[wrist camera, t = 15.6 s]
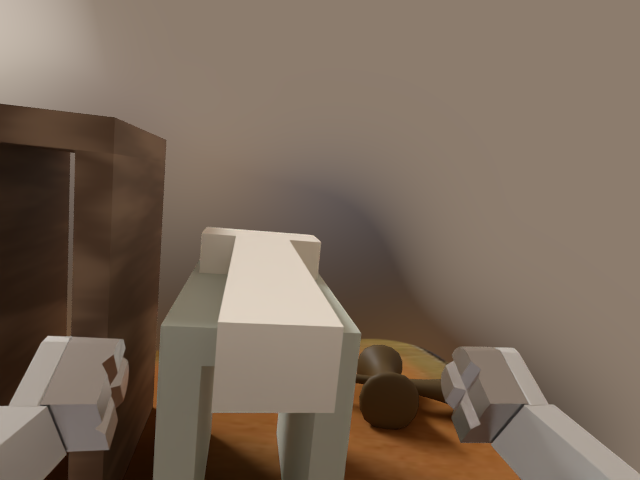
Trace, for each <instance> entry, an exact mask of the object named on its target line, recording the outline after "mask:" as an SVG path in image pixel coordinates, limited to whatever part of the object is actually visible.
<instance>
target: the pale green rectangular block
mask: <svg viewBox="0 0 640 480" xmlns="http://www.w3.org/2000/svg"><path fill="white" fill-rule="evenodd" d="M199 270H200V260H199V262H198V263H197V265H196V267H195V268H194V270H193V272H192V274H191V275H190V277H189V279H188V281H187V282H186V284H185V285H184V287H183V289H182V291H181V293H180V294H179V296H178V297H177V299H176V301H175V303H174V304H173V306H172V308H171V309H170V311H169V313H168V315H167V316H166V318H165V320H164V321H163V323H162V325H161V334H160V353H159V372H158V391H157V410H156V430H155V449H154V468H153V480H204V478H205V471H206V464H207V457H208V450H209V443H210V437H211V426H212V413H211V412H212V398H213V383H214V369H215V355H216V341H217V327H218V319H219V314H220V310H221V305H222V300H223V295H224V291H225V286H226V281H227V277H228V274H211V273H199ZM315 282H316V283H317V285H318V287H319V288H320V290H321V291H322V293H323V295H324V296H325V298H326V299H327V301H328V302H329V304H330V306H331V307H332V309H333V310H334V312H335V314H336V315H337V317H338V318H339V320H340V322H341V323H342V325H343V326H344V331H343V340H342V349H341V358H340V367H339V376H338V384H337V393H336V402H335V411H334V413H278V423H277V441H278V450H279V459H280V469H281V478H282V480H344V474H345V465H346V457H347V449H348V440H349V432H350V423H351V415H352V407H353V398H354V390H355V381H356V373H357V365H358V356H359V348H360V339H361V332H360V331H359V330H358V328H357V327H356V325H355V324H354V322H353V321H352V320H351V318H350V317H349V316H348V314H347V313H346V311H345V310H344V309H343V307H342V306H341V304H340V303H339V302H338V300H337V299H336V297H335V296H334V295H333V293H332V292H331V291H330V289H329V288H328V286H327V285H326V283H325V282H324V281H323V279H322V278H321V276H320V275H319V274H318V277H317V280H315Z"/></svg>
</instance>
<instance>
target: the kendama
mask: <svg viewBox="0 0 640 480" xmlns="http://www.w3.org/2000/svg"><path fill="white" fill-rule="evenodd" d="M401 373H402V360H401V357H400V355H399V353H398V352H396V351H395V350H394V349H393V348H391V347H388V346H385V345H372V346H370V347H367V348H365V349H364V351H363V352H362V353H361V354H360V356H359V359H358V365H357V374H356V381H355V383H359V384H364V385H363V387H362V390H361V393H360V396H359V398H360V410H361V412H362V415H363V417H364V419H365V420H366V421H367V422H369V423H370V424H371V425H373V426H374V427H379V428H385V429H399V428H402V427H405V426H407V425H408V424H409V423H410V422H411V421H412V420H413V419H414V417H415V415H416V412H417V410H418V407H419V395H420V396H423V397H427V398H430V399H434V400H437V401H440V402H443V403H446V404H448V403H447V402H446V401H445V399H444V396H443V393H442V387H441V379H432V380H422V379H408V378H407V377H406V376H404V375H401Z"/></svg>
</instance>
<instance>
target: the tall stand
mask: <svg viewBox="0 0 640 480" xmlns="http://www.w3.org/2000/svg"><path fill="white" fill-rule="evenodd" d="M70 152H72V153H75V187H74V191H75V192H74V234H73V278H72V324H71V337H89V338H111V339H123V340H124V344H125V351H124V355H123V357H124V358H125V359H126V360H128V366H129V378H128V384H127V390H126V394H125V397H124V401H123V402H122V403H121V404H120V405H119V406H118V407H117V408H116V413H117V418H118V422H117V425H116V429H115V432H114V436H113V439H112V442H111V446H110V449H109V450H95V451H74V452H69V460H68V480H123V477H124V475H125V472H126V470H127V468H128V465H129V463H130V460H131V458H132V456H133V453H134V451H135V448H136V446H137V444H138V441H139V439H140V436H141V434H142V431H143V429H144V427H145V424H146V422H147V419H148V417H149V415H150V412H151V410H152V407H153V393H154V373H155V354H156V334H157V314H158V313H157V312H158V294H159V293H158V292H159V274H160V254H161V235H162V214H163V195H164V175H165V155H166V140H165V139H163V138H160V137H158V136H156V135H154V134H151V133H149V132H147V131H144V130H142V129H140V128H137V127H135V126H133V125H131V124H128V123H126V122H124V121H121V120H119V119H117V118H114V117H106V116H98V115H89V114H81V113H73V112H64V111H56V110H48V109H39V108H31V107H23V106H14V105H6V104H0V406H9V404H10V402H11V400H12V398H13V396H14V394H15V392H16V390H17V388H18V386H19V385H20V383H21V381H22V379H23V377H24V375H25V373H26V371H27V369H28V367H29V365H30V363H31V361H32V359H33V358H34V356H35V354H36V352H37V350H38V348H39V346H40V344H41V342H42V341H43V340H44V339H45V338H46V337H47V336H66V330H67V282H68V233H69V184H70V183H69V182H70Z"/></svg>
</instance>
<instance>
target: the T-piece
mask: <svg viewBox="0 0 640 480" xmlns="http://www.w3.org/2000/svg"><path fill="white" fill-rule="evenodd" d="M320 248H321V242H320V241H319V240H318V239H317V238H316V237H315V236H313V235H303V234H291V233H278V232H266V231H252V230H240V229H227V228H214V227H207V228H206V229H205V230H204V231H203V232H202V238H201V255H200V270H199V273H211V274H228V277H227V281H226V286H225V291H224V295H223V300H222V305H221V310H220V314H219V319H218V327H217V341H216V355H215V369H214V383H213V398H212V412H211V413H334V411H335V402H336V393H337V384H338V376H339V367H340V358H341V349H342V340H343V331H344V326H343V325H342V323H341V322H340V320H339V318H338V317H337V315H336V314H335V312H334V310H333V309H332V307H331V306H330V304H329V302H328V301H327V299H326V298H325V296H324V295H323V293H322V291H321V290H320V288H319V287H318V285H317V283H316V282H315V280H317V277H318V267H319V258H320Z"/></svg>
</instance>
